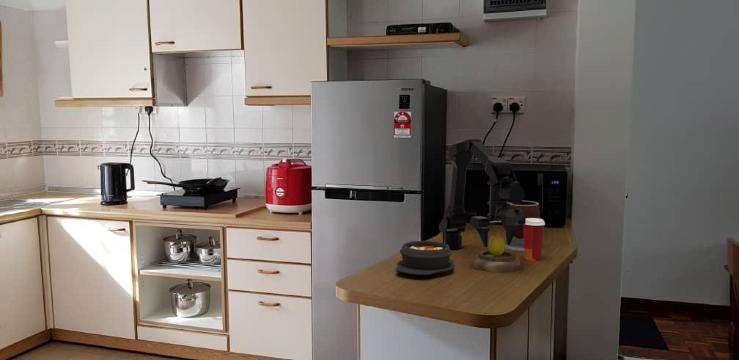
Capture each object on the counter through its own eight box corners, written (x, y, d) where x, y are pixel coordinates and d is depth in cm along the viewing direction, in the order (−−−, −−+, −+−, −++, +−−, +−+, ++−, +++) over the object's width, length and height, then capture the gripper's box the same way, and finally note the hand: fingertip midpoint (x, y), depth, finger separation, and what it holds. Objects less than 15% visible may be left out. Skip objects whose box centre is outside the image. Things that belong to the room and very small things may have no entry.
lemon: (486, 256, 213) (486, 232, 213) (502, 255, 214) (502, 232, 213) (490, 259, 208) (491, 235, 207) (507, 258, 208) (507, 234, 208)
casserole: (437, 283, 190) (438, 256, 189) (382, 275, 199) (382, 249, 198) (465, 265, 212) (466, 241, 211) (415, 259, 221) (415, 235, 220)
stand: (465, 266, 210) (465, 254, 210) (488, 259, 222) (488, 247, 221) (505, 274, 201) (506, 261, 200) (527, 266, 212) (528, 253, 212)
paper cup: (544, 257, 225) (546, 218, 223) (543, 262, 217) (544, 222, 216) (522, 255, 227) (523, 217, 225) (519, 260, 220) (521, 220, 218)
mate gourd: (535, 243, 247) (537, 193, 245) (541, 251, 234) (543, 198, 231) (495, 242, 249) (496, 192, 247) (498, 250, 235) (500, 197, 233)
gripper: (489, 204, 197) (487, 253, 199) (537, 201, 205) (535, 248, 207) (469, 199, 208) (468, 246, 209) (515, 196, 215) (514, 242, 217)
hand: (497, 246), depth 210 cm, fingers open, 9 cm apart
